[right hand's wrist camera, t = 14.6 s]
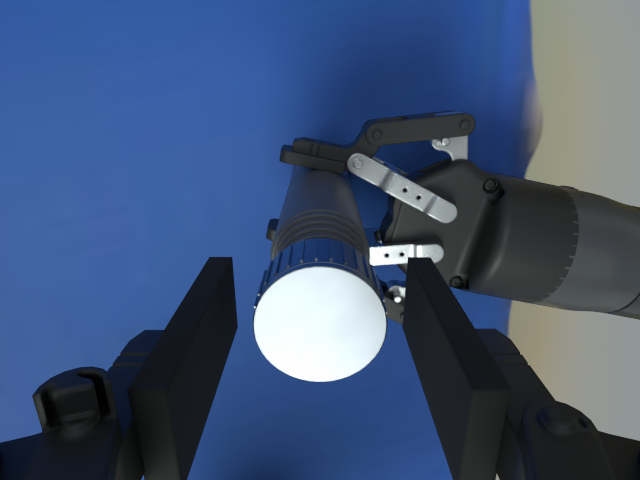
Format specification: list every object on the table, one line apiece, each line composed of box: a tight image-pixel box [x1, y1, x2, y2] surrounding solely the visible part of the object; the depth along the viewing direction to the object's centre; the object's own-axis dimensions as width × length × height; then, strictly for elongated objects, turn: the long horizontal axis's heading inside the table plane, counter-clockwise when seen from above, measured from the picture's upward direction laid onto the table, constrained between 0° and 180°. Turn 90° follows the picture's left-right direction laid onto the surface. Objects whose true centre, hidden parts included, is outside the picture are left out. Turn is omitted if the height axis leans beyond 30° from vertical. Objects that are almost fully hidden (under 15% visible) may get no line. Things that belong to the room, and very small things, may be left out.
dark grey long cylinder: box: [271, 165, 370, 262], centre depth 23 cm, size 4×4×20 cm
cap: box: [253, 238, 387, 382], centre depth 14 cm, size 4×4×2 cm
